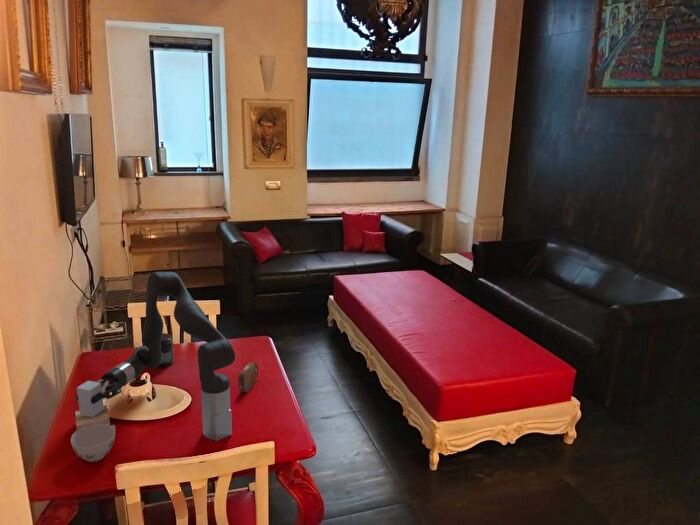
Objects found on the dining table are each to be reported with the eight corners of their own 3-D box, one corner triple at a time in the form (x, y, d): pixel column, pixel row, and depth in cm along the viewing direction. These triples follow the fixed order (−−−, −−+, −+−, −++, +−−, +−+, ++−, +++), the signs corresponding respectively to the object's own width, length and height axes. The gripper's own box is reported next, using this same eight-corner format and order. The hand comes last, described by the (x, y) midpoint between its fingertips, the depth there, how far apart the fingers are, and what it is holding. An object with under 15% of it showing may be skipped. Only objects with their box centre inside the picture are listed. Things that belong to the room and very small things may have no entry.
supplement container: (165, 355, 238) (164, 330, 235) (178, 363, 232) (177, 337, 228) (143, 363, 230) (141, 337, 227) (156, 371, 224) (154, 344, 221)
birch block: (110, 432, 182) (109, 419, 180) (77, 439, 177) (76, 426, 176) (108, 417, 190) (107, 405, 189) (76, 424, 185) (75, 411, 184)
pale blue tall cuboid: (103, 409, 184) (101, 383, 181) (92, 417, 179) (89, 390, 176) (91, 406, 185) (88, 380, 182) (79, 414, 180) (76, 387, 177)
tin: (244, 396, 207) (244, 376, 205) (237, 394, 208) (236, 375, 205) (258, 378, 221) (258, 359, 219) (251, 377, 222) (251, 358, 220)
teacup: (93, 473, 161) (91, 450, 158) (63, 462, 165) (60, 439, 163) (131, 446, 174) (129, 424, 172) (102, 436, 179) (100, 415, 176)
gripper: (101, 364, 194) (65, 386, 179) (135, 370, 191) (101, 393, 175) (103, 382, 196) (67, 406, 181) (136, 389, 193) (103, 413, 177)
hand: (84, 399), depth 178 cm, fingers closed on pale blue tall cuboid, 5 cm apart
